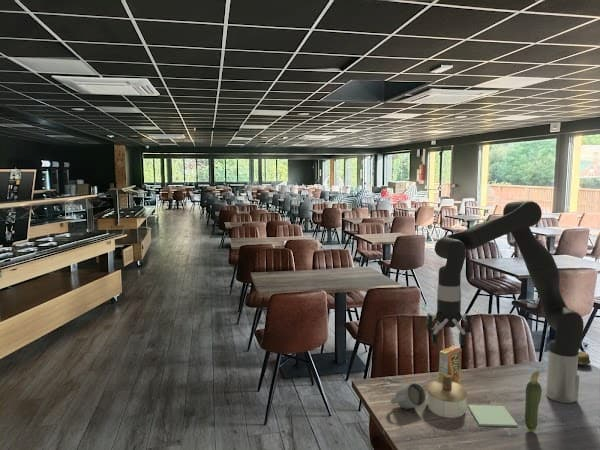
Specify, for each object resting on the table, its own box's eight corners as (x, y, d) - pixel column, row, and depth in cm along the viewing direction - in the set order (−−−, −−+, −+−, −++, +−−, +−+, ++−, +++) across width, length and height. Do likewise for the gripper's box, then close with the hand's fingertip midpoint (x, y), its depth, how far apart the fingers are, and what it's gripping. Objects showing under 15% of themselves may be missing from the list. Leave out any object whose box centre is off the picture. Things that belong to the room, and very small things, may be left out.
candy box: (451, 383, 175) (452, 345, 173) (461, 387, 172) (462, 348, 170) (437, 390, 170) (438, 351, 168) (447, 394, 166) (449, 354, 165)
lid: (460, 384, 161) (461, 368, 161) (472, 402, 149) (472, 385, 148) (423, 383, 162) (424, 368, 162) (431, 401, 149) (432, 384, 149)
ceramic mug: (411, 411, 158) (412, 388, 162) (426, 408, 151) (426, 385, 155) (385, 404, 155) (386, 381, 159) (399, 402, 148) (399, 378, 152)
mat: (503, 407, 157) (503, 405, 157) (517, 426, 145) (517, 424, 145) (468, 406, 158) (468, 404, 158) (479, 425, 146) (479, 423, 146)
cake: (595, 366, 190) (596, 354, 190) (571, 366, 191) (571, 353, 190) (581, 356, 200) (582, 345, 199) (558, 356, 200) (559, 344, 200)
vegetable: (521, 427, 145) (524, 367, 142) (533, 426, 145) (537, 366, 143) (529, 434, 140) (532, 373, 138) (542, 434, 141) (545, 372, 138)
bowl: (458, 400, 162) (459, 384, 161) (469, 418, 150) (469, 401, 149) (424, 399, 162) (425, 383, 162) (432, 417, 151) (432, 400, 150)
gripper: (467, 294, 155) (466, 340, 157) (425, 294, 156) (424, 340, 158) (474, 300, 147) (472, 348, 149) (429, 300, 148) (429, 348, 150)
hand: (447, 344), depth 153 cm, fingers open, 8 cm apart
